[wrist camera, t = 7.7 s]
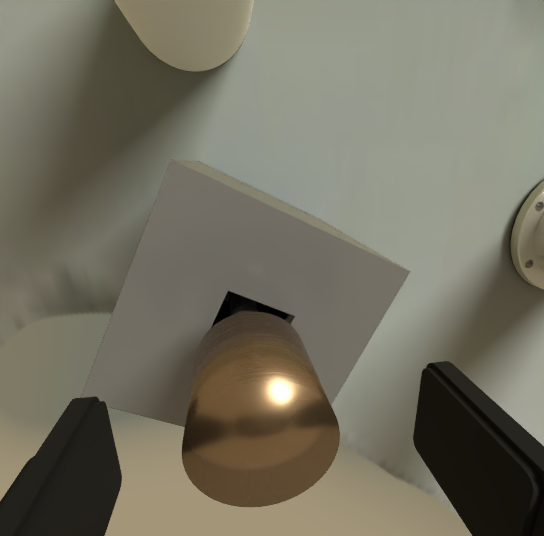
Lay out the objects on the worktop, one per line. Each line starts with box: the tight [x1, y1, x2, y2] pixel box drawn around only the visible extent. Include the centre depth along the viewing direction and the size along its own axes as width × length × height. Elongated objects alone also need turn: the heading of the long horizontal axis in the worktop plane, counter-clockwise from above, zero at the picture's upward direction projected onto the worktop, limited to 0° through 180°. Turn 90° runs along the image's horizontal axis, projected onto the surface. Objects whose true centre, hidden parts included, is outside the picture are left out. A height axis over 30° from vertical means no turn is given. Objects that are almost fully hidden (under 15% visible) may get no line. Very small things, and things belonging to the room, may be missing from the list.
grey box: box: [81, 159, 410, 427], centre depth 21 cm, size 11×11×15 cm
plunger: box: [182, 291, 340, 507], centre depth 18 cm, size 8×8×20 cm
